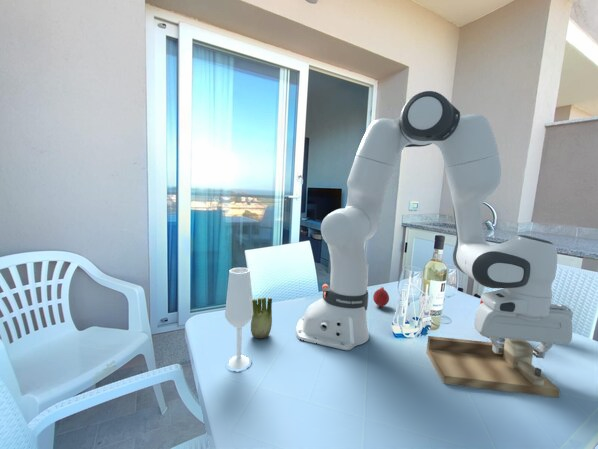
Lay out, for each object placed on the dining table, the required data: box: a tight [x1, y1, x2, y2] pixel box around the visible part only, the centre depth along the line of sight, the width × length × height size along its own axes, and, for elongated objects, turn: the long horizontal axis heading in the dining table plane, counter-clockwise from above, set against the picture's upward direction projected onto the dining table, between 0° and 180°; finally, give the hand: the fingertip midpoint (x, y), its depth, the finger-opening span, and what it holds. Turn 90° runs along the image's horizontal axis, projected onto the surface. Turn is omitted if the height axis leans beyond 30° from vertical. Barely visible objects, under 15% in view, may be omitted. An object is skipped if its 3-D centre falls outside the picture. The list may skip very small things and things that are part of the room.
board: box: [426, 335, 561, 399], centre depth 66 cm, size 24×12×5 cm, turn 82°
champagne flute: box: [224, 267, 253, 369], centre depth 65 cm, size 7×7×24 cm
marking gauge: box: [503, 338, 545, 386], centre depth 64 cm, size 4×10×6 cm, turn 172°
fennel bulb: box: [250, 297, 273, 339], centre depth 78 cm, size 6×5×12 cm
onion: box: [372, 286, 390, 308], centre depth 102 cm, size 6×6×8 cm
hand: (517, 354), depth 67 cm, fingers open, 8 cm apart
